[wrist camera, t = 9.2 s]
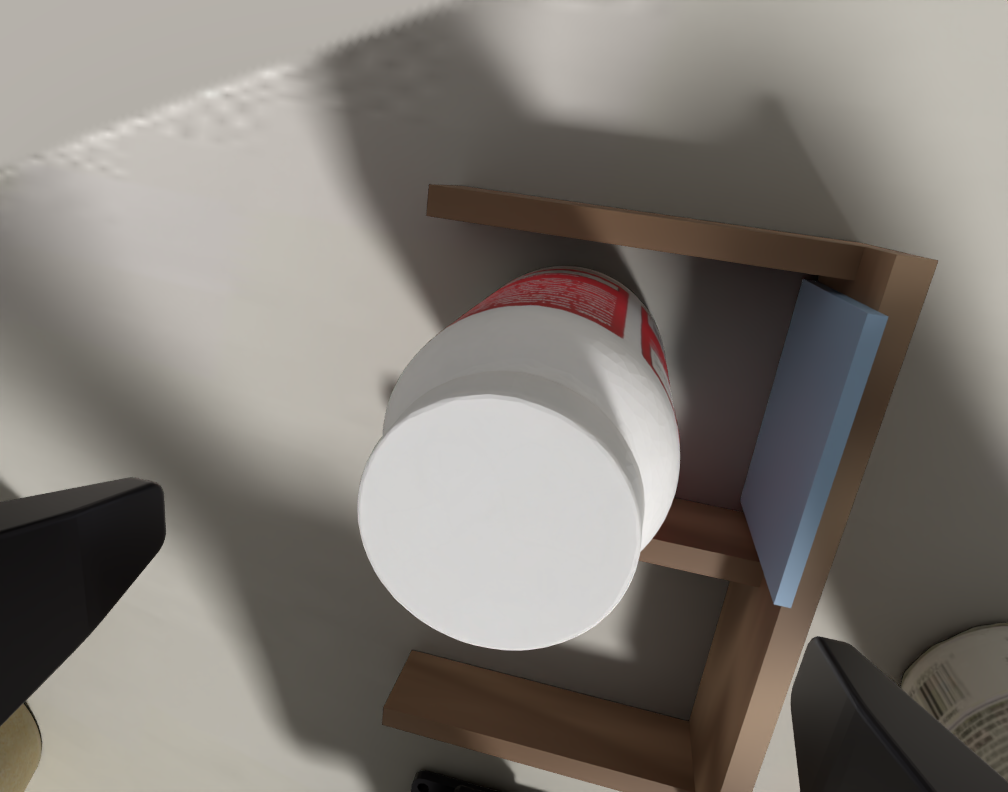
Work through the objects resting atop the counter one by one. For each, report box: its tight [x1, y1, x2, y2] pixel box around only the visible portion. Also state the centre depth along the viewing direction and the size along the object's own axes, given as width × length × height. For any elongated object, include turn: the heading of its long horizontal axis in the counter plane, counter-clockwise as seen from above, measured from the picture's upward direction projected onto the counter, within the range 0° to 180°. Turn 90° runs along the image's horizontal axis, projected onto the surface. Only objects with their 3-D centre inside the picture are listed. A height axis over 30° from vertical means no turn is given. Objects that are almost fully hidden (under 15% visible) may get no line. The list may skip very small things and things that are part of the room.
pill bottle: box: [358, 266, 680, 650], centre depth 15 cm, size 6×6×11 cm
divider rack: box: [382, 184, 938, 792], centre depth 19 cm, size 18×12×6 cm, turn 172°
